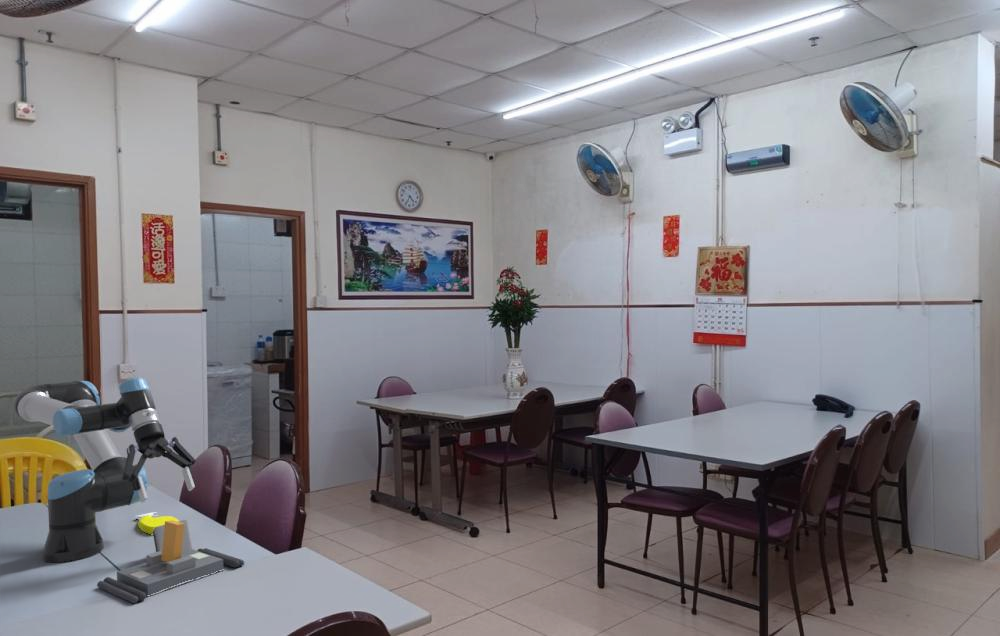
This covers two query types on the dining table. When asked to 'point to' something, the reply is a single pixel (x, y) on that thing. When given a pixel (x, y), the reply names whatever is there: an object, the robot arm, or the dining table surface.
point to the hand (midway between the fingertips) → (168, 494)
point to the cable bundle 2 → (224, 558)
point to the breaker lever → (172, 541)
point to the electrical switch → (159, 535)
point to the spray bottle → (152, 521)
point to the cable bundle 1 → (121, 590)
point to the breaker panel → (166, 577)
